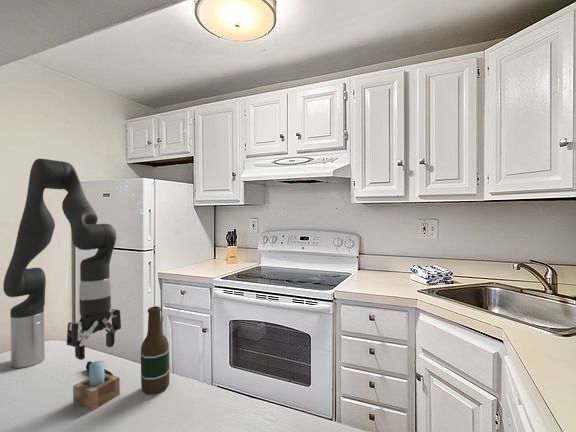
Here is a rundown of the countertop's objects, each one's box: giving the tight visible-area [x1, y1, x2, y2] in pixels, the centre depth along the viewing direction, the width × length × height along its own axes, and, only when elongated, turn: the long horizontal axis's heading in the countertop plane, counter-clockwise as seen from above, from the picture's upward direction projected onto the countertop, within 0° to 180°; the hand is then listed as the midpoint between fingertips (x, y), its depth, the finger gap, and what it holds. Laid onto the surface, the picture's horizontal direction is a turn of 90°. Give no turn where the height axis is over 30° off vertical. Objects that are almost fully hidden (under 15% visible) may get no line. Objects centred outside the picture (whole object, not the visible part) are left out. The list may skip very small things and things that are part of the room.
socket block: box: [72, 373, 121, 411], centre depth 89 cm, size 8×8×5 cm
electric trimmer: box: [85, 360, 114, 376], centre depth 102 cm, size 4×16×3 cm, turn 52°
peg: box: [88, 360, 105, 388], centre depth 89 cm, size 4×4×10 cm
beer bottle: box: [140, 306, 170, 396], centre depth 94 cm, size 8×8×24 cm
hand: (95, 352), depth 89 cm, fingers open, 8 cm apart
